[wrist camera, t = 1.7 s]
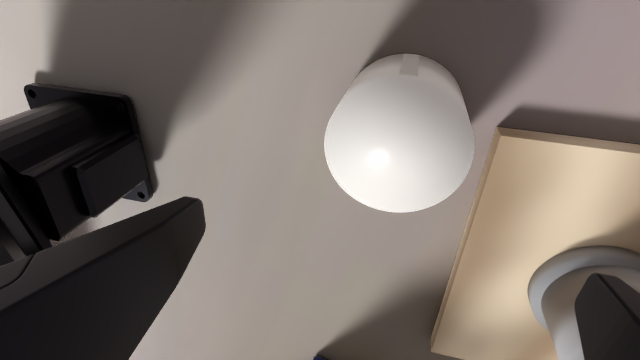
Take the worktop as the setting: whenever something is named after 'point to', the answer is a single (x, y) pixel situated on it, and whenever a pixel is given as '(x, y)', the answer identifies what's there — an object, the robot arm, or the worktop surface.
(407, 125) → the cap
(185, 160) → the worktop surface
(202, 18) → the worktop surface
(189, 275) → the worktop surface
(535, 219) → the beige square board
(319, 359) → the supplement box
